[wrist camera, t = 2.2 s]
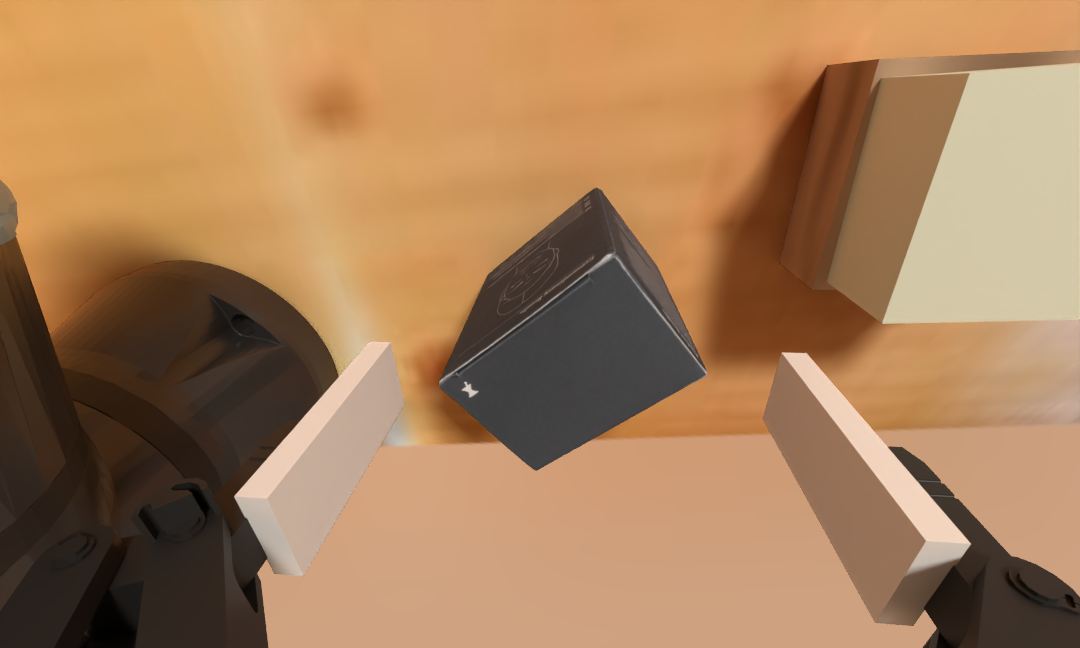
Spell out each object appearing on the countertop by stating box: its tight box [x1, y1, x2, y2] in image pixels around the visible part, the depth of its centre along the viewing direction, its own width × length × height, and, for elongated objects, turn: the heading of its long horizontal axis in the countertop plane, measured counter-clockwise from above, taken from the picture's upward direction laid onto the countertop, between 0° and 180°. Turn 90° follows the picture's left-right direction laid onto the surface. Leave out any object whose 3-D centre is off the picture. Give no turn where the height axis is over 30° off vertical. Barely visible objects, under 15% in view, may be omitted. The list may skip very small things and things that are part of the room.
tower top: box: [827, 63, 1080, 324], centre depth 15 cm, size 8×8×4 cm
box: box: [439, 188, 707, 470], centre depth 19 cm, size 8×6×11 cm
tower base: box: [779, 50, 1080, 290], centre depth 19 cm, size 9×9×4 cm
